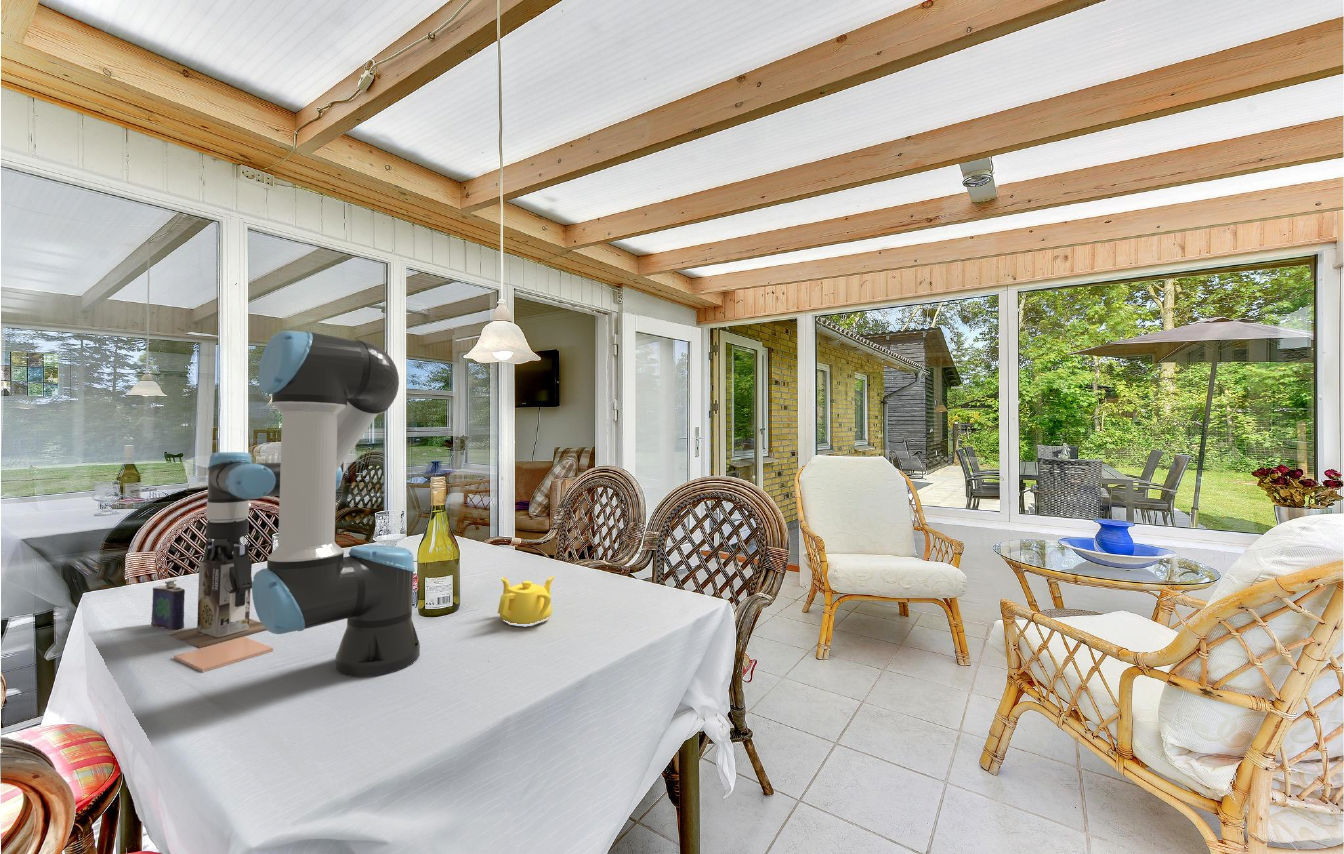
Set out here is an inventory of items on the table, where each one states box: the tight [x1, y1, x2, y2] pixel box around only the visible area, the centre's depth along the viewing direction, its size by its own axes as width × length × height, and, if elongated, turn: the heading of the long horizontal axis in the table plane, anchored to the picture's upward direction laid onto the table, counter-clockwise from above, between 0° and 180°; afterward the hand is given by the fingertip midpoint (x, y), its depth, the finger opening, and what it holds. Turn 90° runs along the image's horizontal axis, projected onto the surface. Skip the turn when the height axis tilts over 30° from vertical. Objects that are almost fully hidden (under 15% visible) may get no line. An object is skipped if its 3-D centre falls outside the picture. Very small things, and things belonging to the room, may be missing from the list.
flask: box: [150, 579, 186, 631], centre depth 125 cm, size 9×3×11 cm, turn 71°
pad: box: [173, 636, 274, 673], centre depth 110 cm, size 12×12×1 cm
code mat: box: [169, 618, 267, 649], centre depth 122 cm, size 14×14×1 cm
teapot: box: [497, 575, 556, 624], centre depth 135 cm, size 14×13×10 cm
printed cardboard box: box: [196, 558, 253, 638], centre depth 122 cm, size 9×6×16 cm
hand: (223, 615), depth 122 cm, fingers open, 11 cm apart
